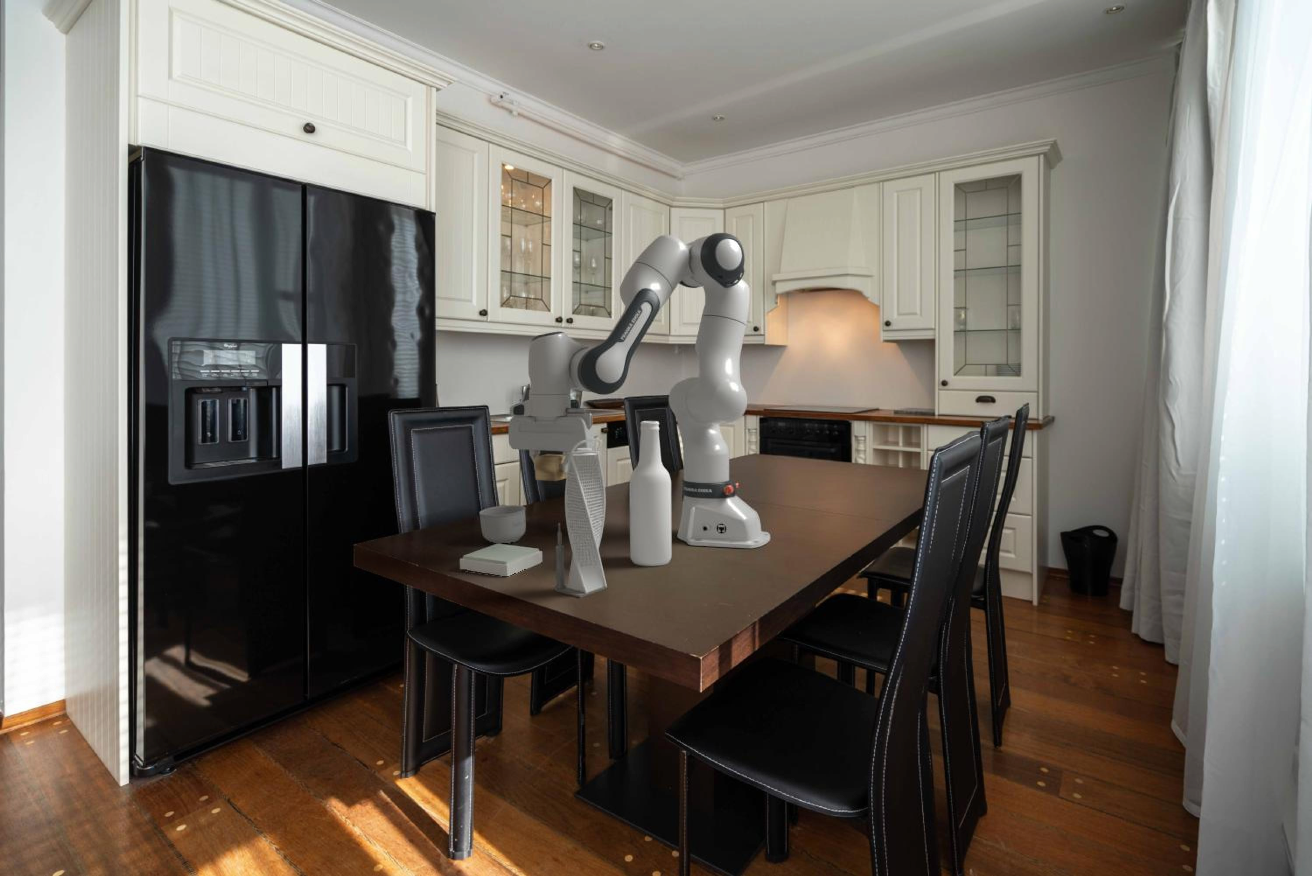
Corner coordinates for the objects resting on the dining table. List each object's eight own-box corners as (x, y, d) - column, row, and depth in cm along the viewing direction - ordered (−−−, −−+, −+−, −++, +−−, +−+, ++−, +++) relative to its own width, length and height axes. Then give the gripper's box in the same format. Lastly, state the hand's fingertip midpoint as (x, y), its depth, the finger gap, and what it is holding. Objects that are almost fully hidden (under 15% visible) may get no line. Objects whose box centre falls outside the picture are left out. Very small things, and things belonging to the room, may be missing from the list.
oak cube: (567, 477, 150) (567, 455, 150) (555, 481, 146) (554, 457, 145) (548, 476, 152) (548, 454, 152) (535, 479, 148) (535, 456, 147)
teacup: (520, 547, 160) (519, 513, 159) (474, 547, 160) (473, 513, 159) (532, 533, 173) (532, 502, 173) (490, 533, 174) (489, 502, 173)
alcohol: (667, 568, 141) (666, 423, 138) (626, 566, 143) (624, 422, 140) (674, 556, 150) (673, 420, 147) (635, 555, 152) (634, 420, 149)
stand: (542, 562, 146) (542, 548, 146) (507, 577, 136) (506, 562, 135) (497, 556, 151) (496, 542, 151) (460, 570, 141) (459, 556, 140)
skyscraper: (586, 579, 134) (583, 437, 131) (616, 587, 129) (614, 439, 126) (553, 590, 127) (550, 440, 125) (584, 599, 122) (581, 443, 119)
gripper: (599, 407, 146) (600, 471, 147) (520, 406, 155) (522, 467, 156) (583, 409, 140) (585, 475, 142) (503, 407, 149) (505, 470, 150)
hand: (551, 471), depth 149 cm, fingers closed on oak cube, 5 cm apart
